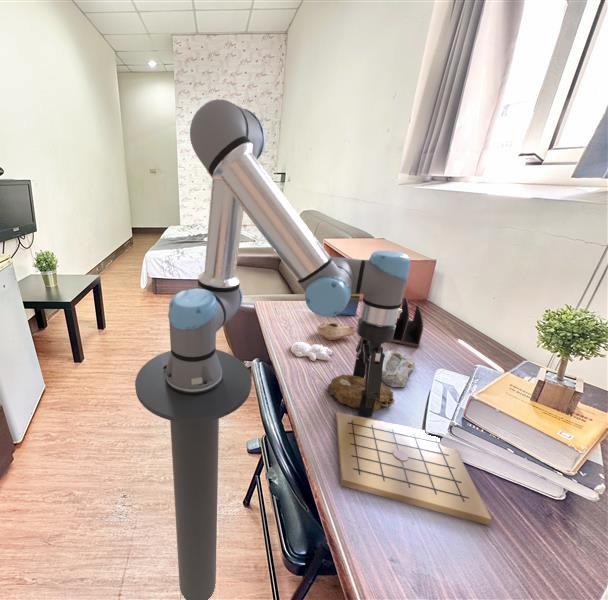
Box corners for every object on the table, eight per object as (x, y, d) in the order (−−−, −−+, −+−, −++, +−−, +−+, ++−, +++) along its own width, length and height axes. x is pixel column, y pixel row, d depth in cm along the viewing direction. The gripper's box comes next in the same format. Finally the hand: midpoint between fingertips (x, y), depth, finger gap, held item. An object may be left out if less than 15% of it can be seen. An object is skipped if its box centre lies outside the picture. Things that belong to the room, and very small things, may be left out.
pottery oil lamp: (360, 343, 102) (358, 329, 98) (322, 349, 106) (319, 336, 102) (353, 323, 109) (351, 310, 105) (318, 330, 113) (314, 317, 108)
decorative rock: (382, 387, 82) (323, 384, 84) (384, 374, 81) (325, 371, 83) (401, 416, 71) (334, 411, 73) (405, 401, 70) (336, 397, 72)
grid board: (341, 485, 56) (342, 479, 55) (335, 416, 72) (337, 411, 71) (488, 525, 49) (492, 518, 49) (447, 440, 65) (449, 434, 65)
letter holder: (383, 341, 105) (393, 302, 99) (384, 318, 121) (392, 284, 116) (418, 348, 100) (430, 308, 95) (413, 324, 116) (423, 289, 111)
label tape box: (353, 311, 127) (358, 283, 122) (356, 316, 123) (362, 287, 118) (330, 310, 128) (335, 282, 123) (333, 315, 124) (338, 286, 119)
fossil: (380, 352, 98) (381, 343, 97) (416, 362, 92) (418, 353, 91) (362, 378, 86) (364, 369, 85) (403, 392, 80) (405, 382, 79)
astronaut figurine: (327, 365, 91) (328, 356, 90) (287, 353, 97) (288, 345, 96) (333, 352, 98) (334, 343, 97) (295, 342, 104) (296, 334, 103)
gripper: (411, 350, 58) (387, 437, 65) (385, 302, 80) (369, 371, 87) (366, 344, 60) (349, 429, 68) (353, 299, 82) (341, 367, 90)
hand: (360, 396), depth 78 cm, fingers open, 13 cm apart
